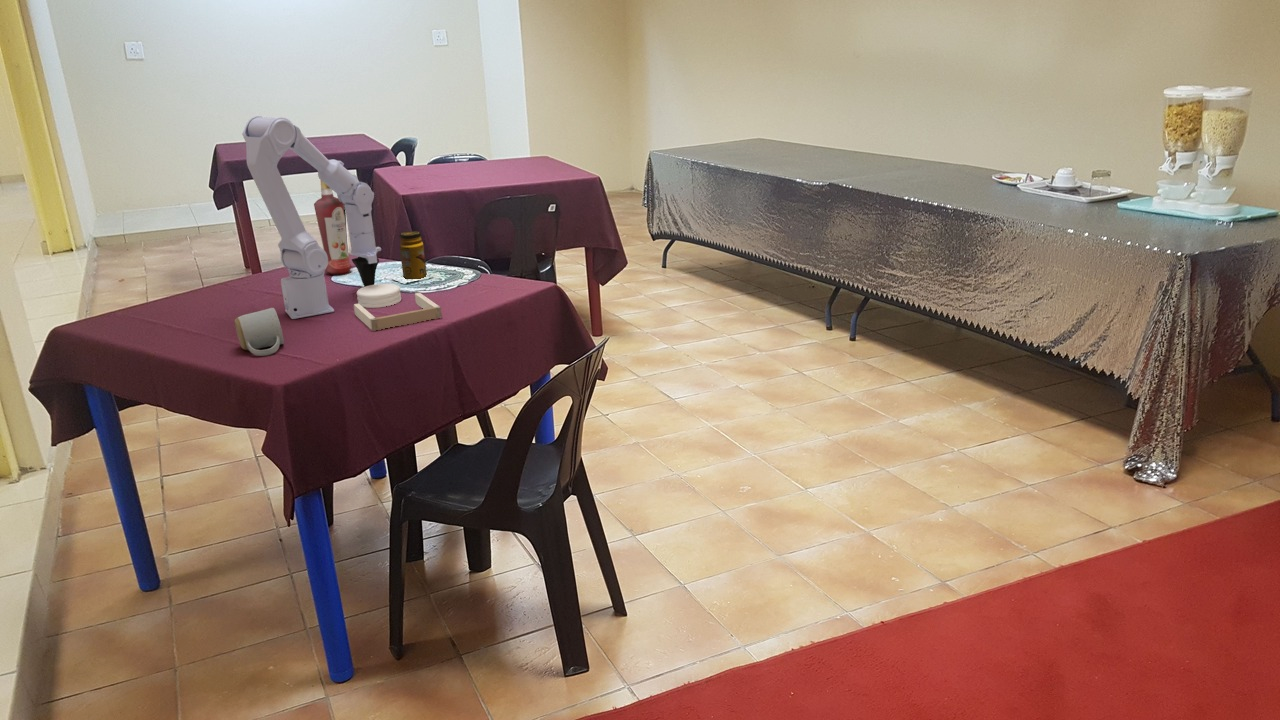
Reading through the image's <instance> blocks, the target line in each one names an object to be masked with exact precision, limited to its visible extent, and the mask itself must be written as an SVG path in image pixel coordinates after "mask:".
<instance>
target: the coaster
mask: <svg viewBox="0 0 1280 720" xmlns="http://www.w3.org/2000/svg"><path fill="white" fill-rule="evenodd" d="M401 293H402V292H401V288H400V286H399V285H398V284H394V283H377V284H375V283H374V285H370V286H366V287H364V286H363V287H361V288H358V290H357V291H356V295H357V296H356V297H357V304H360V305H361V306H362V307H364V308H365V309H380V308H386V306H387V307H392V306H394V304H395V305H397V304H399V303H400V302H401V301H402V297H401V295H402V294H401ZM391 305H392V306H391Z"/></svg>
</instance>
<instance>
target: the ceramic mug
mask: <svg viewBox="0 0 1280 720" xmlns="http://www.w3.org/2000/svg"><path fill="white" fill-rule="evenodd" d="M234 326H235V332H236V335H237V338H238V342H239V344H240V347H241V349H242V350H245V351H249V352H250V353H251V354H252V355H254V356H256V357H258V356H260V357H266V356H270V355H273V354H274V353H276V352H277V351H278V350H279V348H280V345H284V335H283V330H282V326H281V323H280V319H279V316H278V314H277V311H276V309H275V308H274V307H269V308H266V309H262V310H259V311H255V312H249V313H247V314H243V315H240V316H238V317H236V318H234ZM268 347H270V348H268ZM262 348H267V349H262Z"/></svg>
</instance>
